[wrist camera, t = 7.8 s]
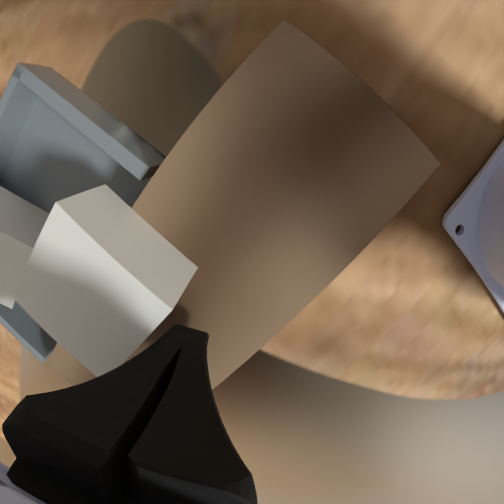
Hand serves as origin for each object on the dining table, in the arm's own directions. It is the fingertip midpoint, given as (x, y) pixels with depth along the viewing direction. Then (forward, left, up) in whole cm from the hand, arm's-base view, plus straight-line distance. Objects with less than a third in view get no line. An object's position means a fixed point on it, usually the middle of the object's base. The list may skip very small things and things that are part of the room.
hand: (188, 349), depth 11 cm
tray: (+9, +3, -4) cm, 11 cm away
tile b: (+4, 0, -1) cm, 4 cm away
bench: (+1, -1, -4) cm, 4 cm away
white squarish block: (+10, +4, 0) cm, 11 cm away
